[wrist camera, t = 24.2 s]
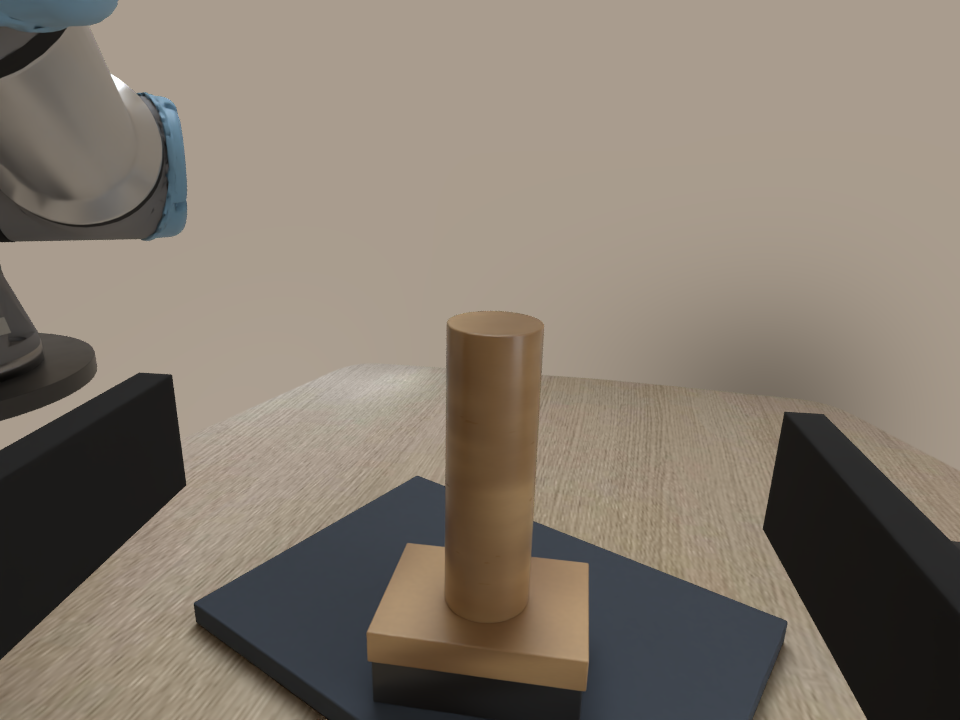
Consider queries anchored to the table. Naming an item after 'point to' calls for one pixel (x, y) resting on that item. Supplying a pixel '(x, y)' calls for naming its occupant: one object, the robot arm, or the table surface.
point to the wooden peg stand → (486, 554)
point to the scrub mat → (612, 578)
